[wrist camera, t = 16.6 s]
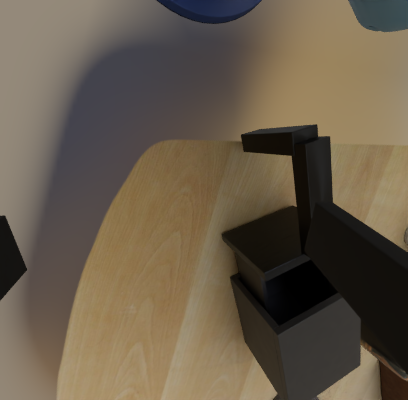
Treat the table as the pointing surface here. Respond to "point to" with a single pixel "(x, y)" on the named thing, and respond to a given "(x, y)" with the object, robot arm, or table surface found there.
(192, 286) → the table surface
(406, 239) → the coffee cup
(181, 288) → the table surface
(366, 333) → the jar
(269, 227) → the fryer drawer
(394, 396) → the bread
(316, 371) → the box
